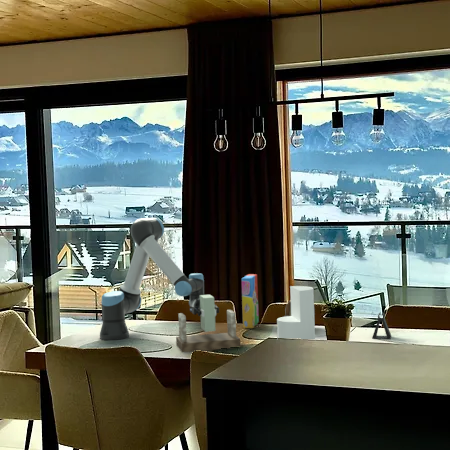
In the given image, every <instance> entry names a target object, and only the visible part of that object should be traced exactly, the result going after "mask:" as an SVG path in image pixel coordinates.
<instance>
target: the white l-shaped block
mask: <svg viewBox="0 0 450 450" xmlns="http://www.w3.org/2000/svg"><path fill="white" fill-rule="evenodd" d="M289 288H290V289H289V290H290V300H291V316H286V315H284V316H282V317H278V318H277V319H276V325H277V327H276V329H277V339H278V338H301V339H315V340H316V328H315V327H316V325H315V317H314V309H315V296H314V294H315V293H314V287H312V286H309V285H307V286H306V285H304V286H303V285H293V286H292V285H290V286H289Z"/></svg>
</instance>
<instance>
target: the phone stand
mask: <svg viewBox="0 0 450 450" xmlns="http://www.w3.org/2000/svg"><path fill="white" fill-rule="evenodd" d="M380 315H381V316H382V317H380ZM381 322H382V324H383V329H384V332H385V335H378V330H379V326H380V323H381ZM389 328H390V327H389V326H388V324H387V321H386V318H385V313H384V312H382V313H381V312H379V313H378V314H377V322H376V326H375V328H374V331H373V334H372V337H371V338H372V339H373V340H391V339H392V333H391V331H390V329H389Z"/></svg>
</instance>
